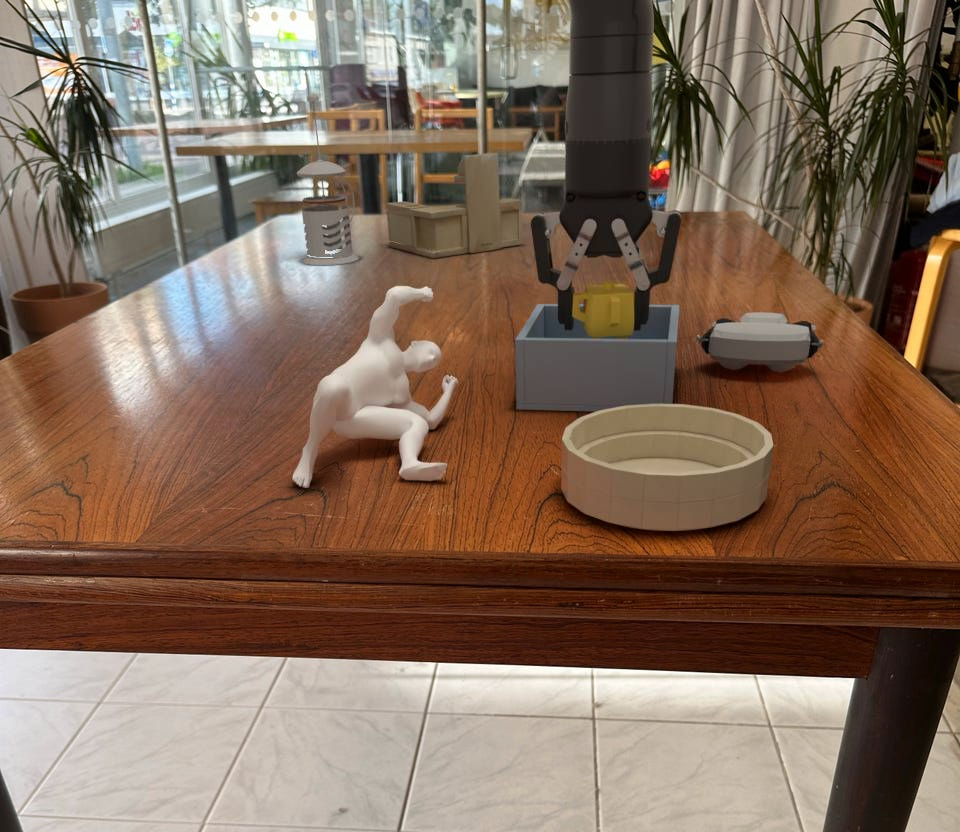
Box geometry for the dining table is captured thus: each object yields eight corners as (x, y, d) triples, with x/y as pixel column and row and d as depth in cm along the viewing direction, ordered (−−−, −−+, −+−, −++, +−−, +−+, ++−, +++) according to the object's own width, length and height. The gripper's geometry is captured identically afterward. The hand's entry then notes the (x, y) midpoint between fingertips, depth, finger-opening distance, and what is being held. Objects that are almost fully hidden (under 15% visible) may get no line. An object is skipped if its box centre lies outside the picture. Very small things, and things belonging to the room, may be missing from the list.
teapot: (564, 328, 95) (565, 274, 92) (621, 325, 95) (623, 272, 93) (577, 349, 88) (578, 291, 86) (638, 345, 89) (641, 288, 86)
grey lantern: (290, 262, 161) (268, 94, 148) (334, 251, 170) (317, 91, 156) (333, 266, 157) (314, 93, 144) (377, 255, 165) (363, 90, 152)
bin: (674, 369, 99) (679, 304, 96) (671, 414, 87) (676, 341, 84) (537, 366, 102) (537, 303, 99) (516, 409, 90) (515, 339, 86)
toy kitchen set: (473, 235, 180) (470, 146, 172) (524, 245, 168) (523, 150, 160) (388, 247, 172) (381, 154, 164) (435, 259, 159) (430, 159, 151)
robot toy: (705, 348, 109) (692, 375, 96) (709, 307, 107) (696, 329, 94) (816, 353, 106) (818, 382, 93) (823, 311, 104) (825, 334, 91)
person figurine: (413, 354, 67) (425, 261, 81) (249, 396, 69) (287, 299, 83) (462, 502, 76) (465, 396, 89) (314, 535, 78) (339, 427, 91)
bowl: (759, 460, 77) (766, 406, 74) (771, 541, 64) (780, 479, 62) (573, 453, 80) (574, 401, 77) (550, 529, 67) (550, 470, 64)
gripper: (692, 128, 85) (678, 320, 93) (533, 132, 87) (534, 319, 96) (691, 134, 78) (677, 339, 87) (521, 139, 81) (523, 338, 90)
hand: (602, 328), depth 92 cm, fingers closed on teapot, 6 cm apart
